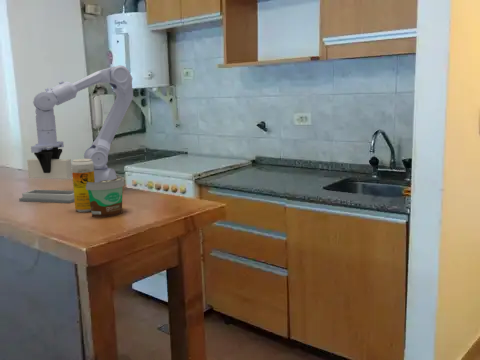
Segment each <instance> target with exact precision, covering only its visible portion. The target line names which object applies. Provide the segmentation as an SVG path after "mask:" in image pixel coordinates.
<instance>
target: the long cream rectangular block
mask: <svg viewBox="0 0 480 360" xmlns="http://www.w3.org/2000/svg"><path fill="white" fill-rule="evenodd" d="M26 162H27V171H28V178H29V179H45V180H46V179H47V180H48V179H50V180H52V179H53V180H54V179H55V180H69V179H73V176H72V159H71V158H61V159H60V158H59V159H51V172H50V173H44V172H43V170H42V167H41V164H40V162H39V160H38V159H37V158H30V159H27V160H26Z"/></svg>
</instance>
